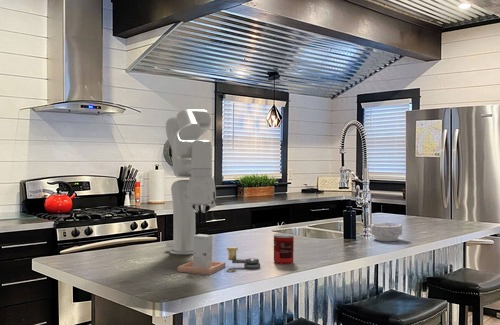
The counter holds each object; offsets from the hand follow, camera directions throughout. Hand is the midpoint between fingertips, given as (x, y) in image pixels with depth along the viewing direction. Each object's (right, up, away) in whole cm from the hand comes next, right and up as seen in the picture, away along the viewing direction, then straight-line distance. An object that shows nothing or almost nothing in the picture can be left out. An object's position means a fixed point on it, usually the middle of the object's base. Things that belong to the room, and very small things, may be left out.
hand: (201, 223), depth 187 cm
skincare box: (0, -17, 0) cm, 17 cm away
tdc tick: (+11, -17, -4) cm, 21 cm away
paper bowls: (+86, -17, +66) cm, 110 cm away
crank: (+15, -15, +3) cm, 22 cm away
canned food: (+31, -17, +12) cm, 37 cm away
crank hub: (+19, -17, +3) cm, 25 cm away
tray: (0, -17, 0) cm, 17 cm away
